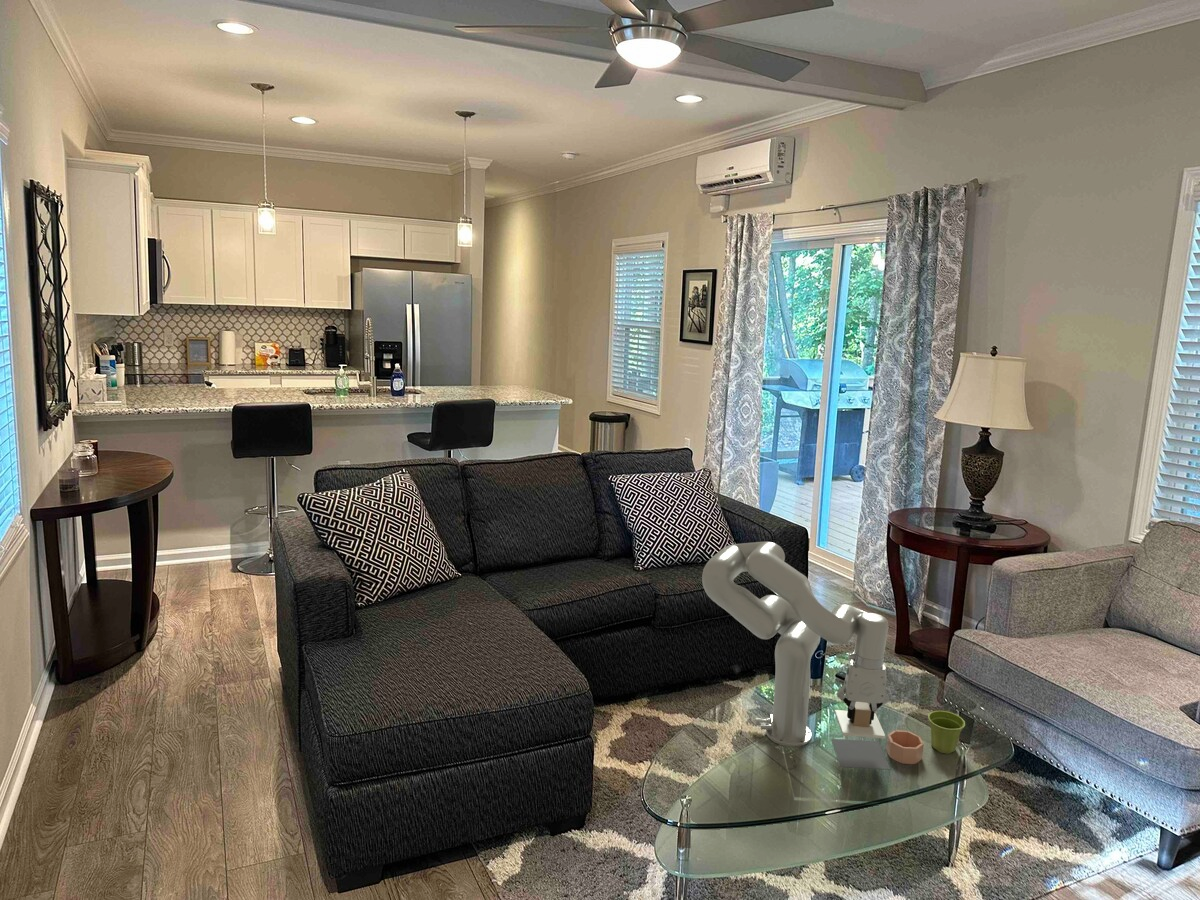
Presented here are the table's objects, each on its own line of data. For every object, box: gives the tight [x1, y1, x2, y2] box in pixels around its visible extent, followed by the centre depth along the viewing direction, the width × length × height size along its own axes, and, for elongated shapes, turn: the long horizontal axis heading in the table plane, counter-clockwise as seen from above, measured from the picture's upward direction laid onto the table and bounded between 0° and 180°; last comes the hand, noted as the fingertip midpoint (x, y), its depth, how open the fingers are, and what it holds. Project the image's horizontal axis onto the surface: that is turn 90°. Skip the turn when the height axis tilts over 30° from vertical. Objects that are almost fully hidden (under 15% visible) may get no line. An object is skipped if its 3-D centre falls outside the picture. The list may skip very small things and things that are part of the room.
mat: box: [830, 738, 891, 771], centre depth 229 cm, size 13×13×1 cm
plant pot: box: [927, 710, 966, 755], centre depth 232 cm, size 9×9×9 cm
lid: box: [834, 702, 886, 740], centre depth 226 cm, size 11×11×6 cm
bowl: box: [885, 729, 925, 765], centre depth 228 cm, size 9×9×5 cm
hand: (859, 720), depth 227 cm, fingers closed on lid, 4 cm apart
